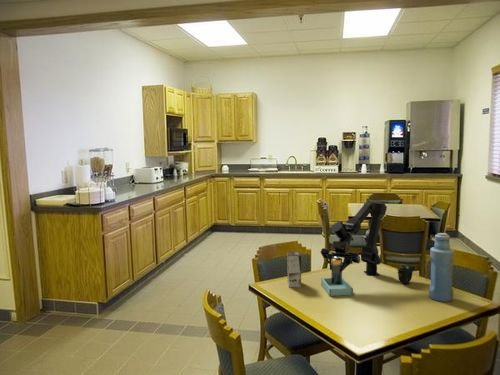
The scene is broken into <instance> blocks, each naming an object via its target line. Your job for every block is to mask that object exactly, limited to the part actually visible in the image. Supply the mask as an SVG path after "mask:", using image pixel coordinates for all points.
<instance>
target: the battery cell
mask: <svg viewBox="0 0 500 375" xmlns="http://www.w3.org/2000/svg"><path fill="white" fill-rule="evenodd" d="M342 264H343V258H342V257H338V256H334V258H332V259H331V270H330V271H331V277H330V278H331V283H332V284H334V285H341V284H342V277H343V271H342V272H341V271H340V270H341V267H342Z"/></svg>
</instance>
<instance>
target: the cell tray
mask: <svg viewBox="0 0 500 375" xmlns="http://www.w3.org/2000/svg"><path fill="white" fill-rule="evenodd" d="M320 283H321V286H322V288H323V289H324V291H325V292H326V293H327V295H328V296H329V297H353V296H354V288H353V287H352V285H351V284H349V282H347V280H346V279H345V278H344V277H343V276H342V284H341V285H334V284H332V283H331V277H321V282H320Z"/></svg>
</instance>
